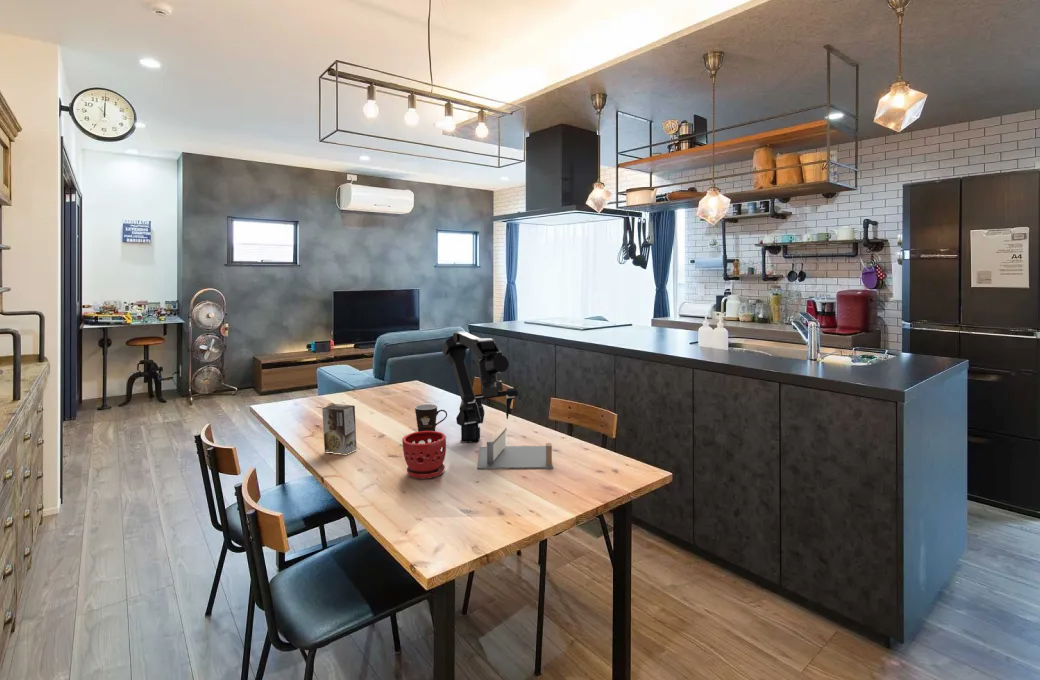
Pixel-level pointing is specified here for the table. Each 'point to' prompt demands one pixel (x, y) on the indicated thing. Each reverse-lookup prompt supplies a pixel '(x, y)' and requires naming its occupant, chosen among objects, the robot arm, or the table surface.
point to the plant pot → (424, 454)
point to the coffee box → (339, 428)
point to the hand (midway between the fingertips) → (493, 420)
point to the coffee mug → (427, 417)
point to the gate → (496, 445)
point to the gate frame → (518, 457)
